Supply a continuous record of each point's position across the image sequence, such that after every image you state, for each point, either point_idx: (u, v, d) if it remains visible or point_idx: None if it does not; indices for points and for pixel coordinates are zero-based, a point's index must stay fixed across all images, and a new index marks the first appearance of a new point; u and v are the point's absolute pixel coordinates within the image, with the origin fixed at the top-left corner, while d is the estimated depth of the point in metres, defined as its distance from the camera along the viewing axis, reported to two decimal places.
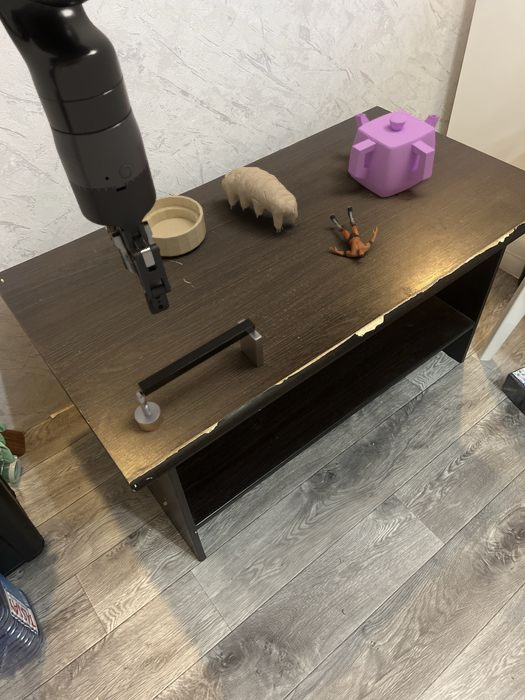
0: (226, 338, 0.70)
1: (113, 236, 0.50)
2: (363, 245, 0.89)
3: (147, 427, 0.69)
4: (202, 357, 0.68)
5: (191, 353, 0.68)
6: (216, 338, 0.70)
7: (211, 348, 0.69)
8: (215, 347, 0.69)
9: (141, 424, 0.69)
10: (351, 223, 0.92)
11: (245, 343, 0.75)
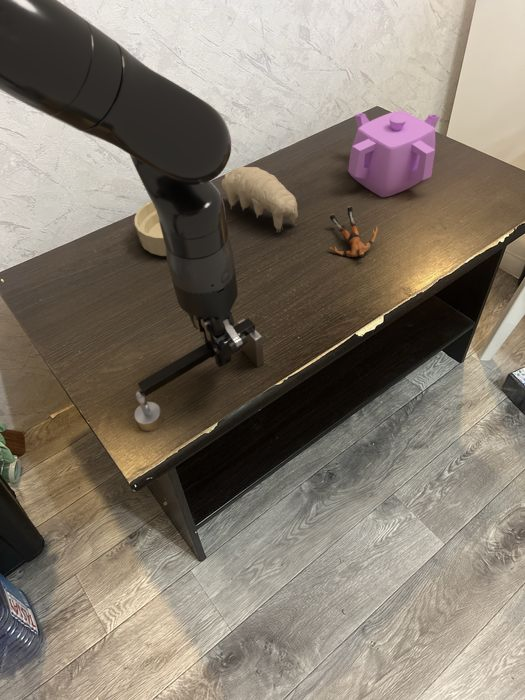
0: None
1: (206, 325, 0.63)
2: (363, 245, 0.89)
3: (147, 427, 0.69)
4: (202, 357, 0.68)
5: (191, 353, 0.68)
6: None
7: (211, 348, 0.69)
8: None
9: (141, 424, 0.69)
10: (351, 223, 0.92)
11: None
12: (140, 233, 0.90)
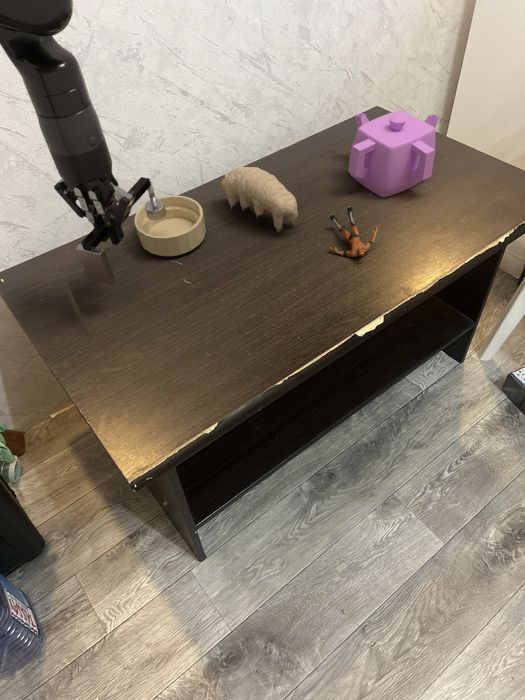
0: (99, 224, 0.78)
1: None
2: (363, 245, 0.89)
3: None
4: None
5: None
6: None
7: None
8: None
9: None
10: (351, 223, 0.92)
11: None
12: (140, 233, 0.90)
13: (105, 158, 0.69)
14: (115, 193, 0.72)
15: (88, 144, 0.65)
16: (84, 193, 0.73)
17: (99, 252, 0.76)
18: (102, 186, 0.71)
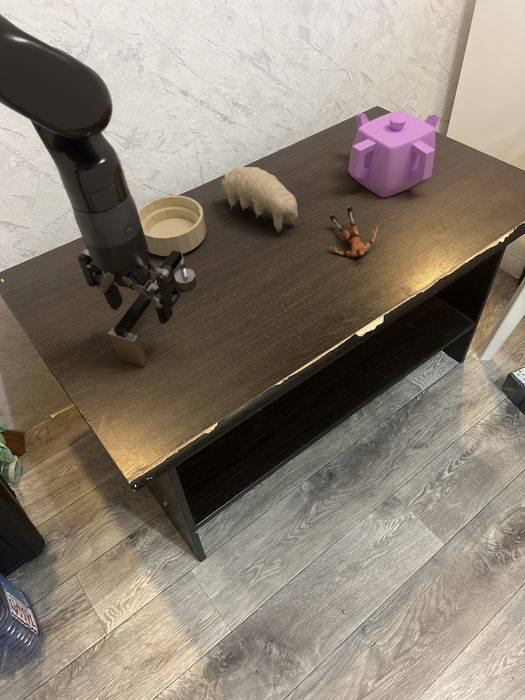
0: (132, 307, 0.74)
1: None
2: (363, 245, 0.89)
3: None
4: None
5: None
6: (141, 303, 0.75)
7: (140, 295, 0.76)
8: (137, 297, 0.76)
9: None
10: (351, 223, 0.92)
11: None
12: None
13: (142, 245, 0.65)
14: (151, 274, 0.67)
15: (126, 235, 0.61)
16: (115, 277, 0.69)
17: (132, 338, 0.72)
18: (137, 272, 0.67)
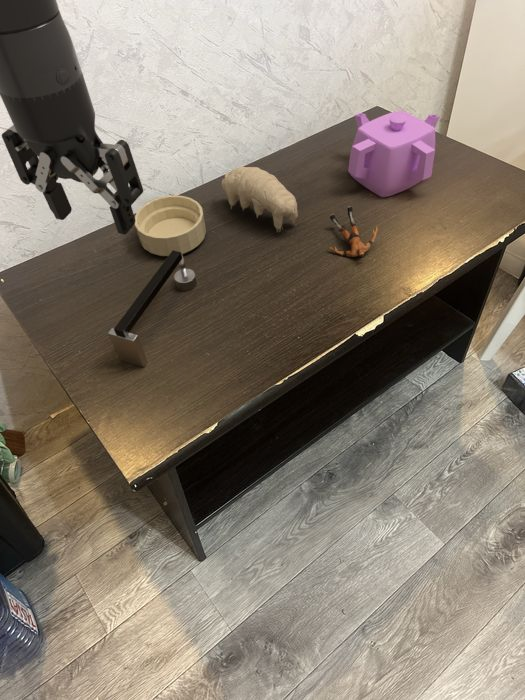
0: (132, 307, 0.74)
1: None
2: (363, 245, 0.89)
3: None
4: None
5: (154, 285, 0.77)
6: (141, 303, 0.75)
7: (140, 295, 0.76)
8: (137, 297, 0.76)
9: None
10: (351, 223, 0.92)
11: None
12: (140, 233, 0.90)
13: (84, 106, 0.46)
14: (100, 153, 0.49)
15: (56, 80, 0.43)
16: (52, 162, 0.51)
17: (132, 338, 0.72)
18: (81, 150, 0.48)
